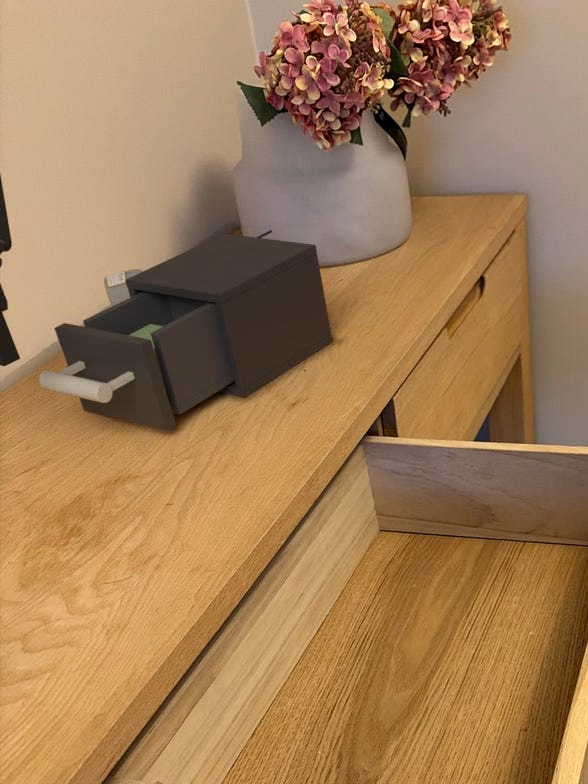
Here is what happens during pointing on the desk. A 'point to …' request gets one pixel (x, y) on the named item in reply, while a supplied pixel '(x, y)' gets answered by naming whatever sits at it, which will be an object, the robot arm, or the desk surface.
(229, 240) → the cabinet
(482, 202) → the desk surface
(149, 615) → the desk surface
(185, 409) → the drawer
